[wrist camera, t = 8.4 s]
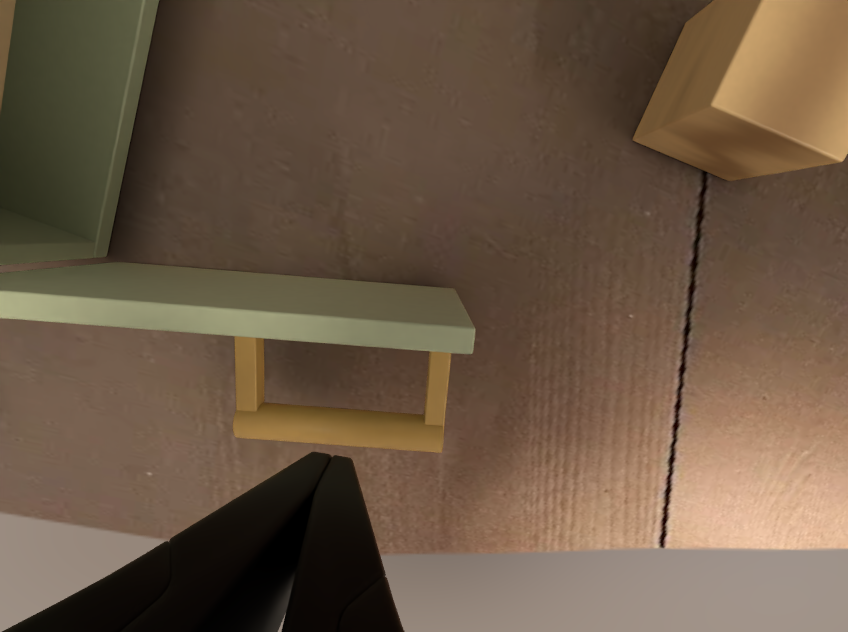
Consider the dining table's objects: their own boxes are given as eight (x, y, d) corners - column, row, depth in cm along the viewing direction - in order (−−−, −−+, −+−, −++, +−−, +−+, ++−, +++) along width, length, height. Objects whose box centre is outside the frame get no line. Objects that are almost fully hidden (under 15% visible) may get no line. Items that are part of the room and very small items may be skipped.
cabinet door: (443, 406, 20) (455, 516, 12) (128, 382, 19) (-64, 478, 12) (455, 288, 18) (476, 327, 11) (118, 261, 18) (-104, 282, 11)
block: (787, 68, 17) (936, 1, 12) (728, 182, 18) (843, 163, 13) (684, 22, 16) (794, -68, 12) (630, 140, 17) (710, 104, 13)
